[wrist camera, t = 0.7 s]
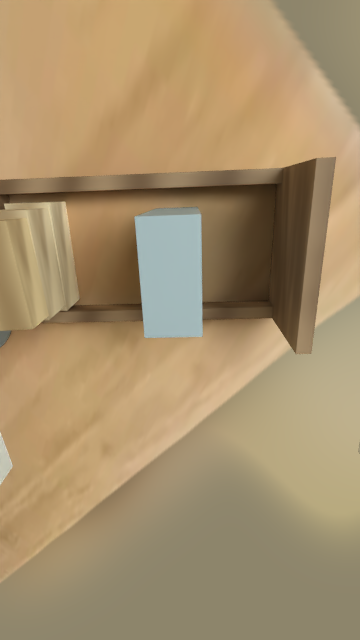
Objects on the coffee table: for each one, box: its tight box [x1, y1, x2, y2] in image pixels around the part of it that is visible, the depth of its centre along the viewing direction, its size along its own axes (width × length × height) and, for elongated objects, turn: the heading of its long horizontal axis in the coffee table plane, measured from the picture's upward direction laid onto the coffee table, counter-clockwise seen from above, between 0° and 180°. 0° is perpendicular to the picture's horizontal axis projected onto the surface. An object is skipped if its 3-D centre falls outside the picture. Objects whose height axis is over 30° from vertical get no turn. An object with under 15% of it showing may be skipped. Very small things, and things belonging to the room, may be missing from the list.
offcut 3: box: [4, 202, 80, 311], centre depth 32 cm, size 4×10×4 cm, turn 2°
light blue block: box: [135, 207, 203, 338], centre depth 27 cm, size 4×8×13 cm, turn 2°
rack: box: [0, 157, 336, 354], centre depth 28 cm, size 28×14×10 cm, turn 92°
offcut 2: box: [0, 218, 49, 331], centre depth 25 cm, size 4×8×3 cm, turn 4°
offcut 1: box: [0, 208, 66, 320], centre depth 28 cm, size 4×9×4 cm, turn 2°
